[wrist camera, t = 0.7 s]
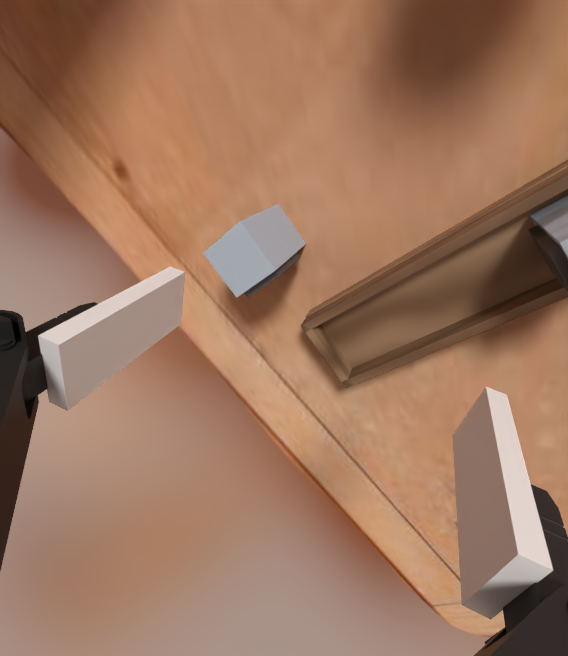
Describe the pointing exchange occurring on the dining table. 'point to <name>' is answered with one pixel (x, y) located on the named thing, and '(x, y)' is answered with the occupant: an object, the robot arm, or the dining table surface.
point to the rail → (451, 284)
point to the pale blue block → (256, 251)
